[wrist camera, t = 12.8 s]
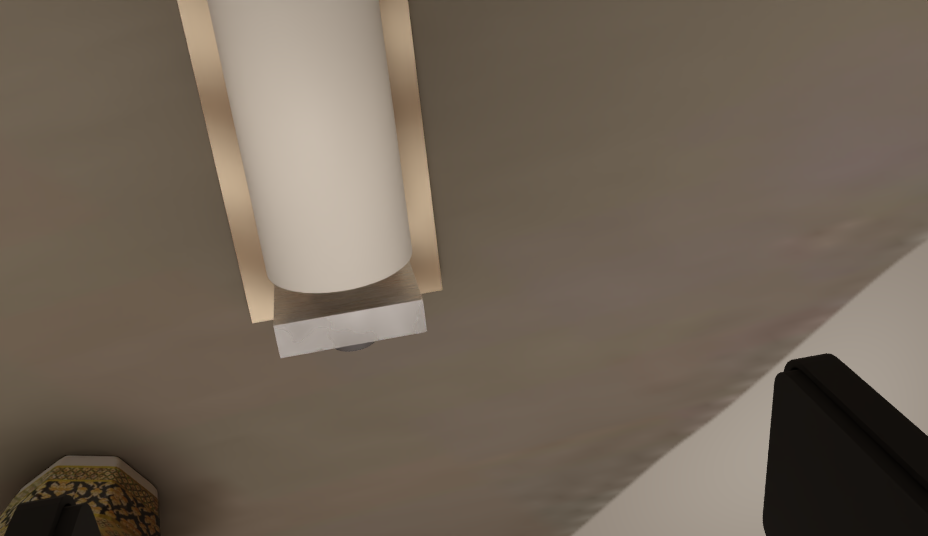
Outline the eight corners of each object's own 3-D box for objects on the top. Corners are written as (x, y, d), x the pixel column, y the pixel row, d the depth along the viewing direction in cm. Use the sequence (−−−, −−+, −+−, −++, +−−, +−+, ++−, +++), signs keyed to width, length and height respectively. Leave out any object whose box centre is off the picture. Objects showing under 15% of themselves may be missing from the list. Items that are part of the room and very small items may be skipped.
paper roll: (205, -47, 32) (190, -34, 26) (362, -65, 33) (379, -56, 27) (267, 245, 37) (266, 305, 32) (402, 222, 38) (422, 278, 32)
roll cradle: (146, -156, 32) (113, -167, 26) (382, -179, 33) (404, -195, 27) (253, 308, 40) (247, 385, 34) (437, 277, 42) (464, 345, 35)
